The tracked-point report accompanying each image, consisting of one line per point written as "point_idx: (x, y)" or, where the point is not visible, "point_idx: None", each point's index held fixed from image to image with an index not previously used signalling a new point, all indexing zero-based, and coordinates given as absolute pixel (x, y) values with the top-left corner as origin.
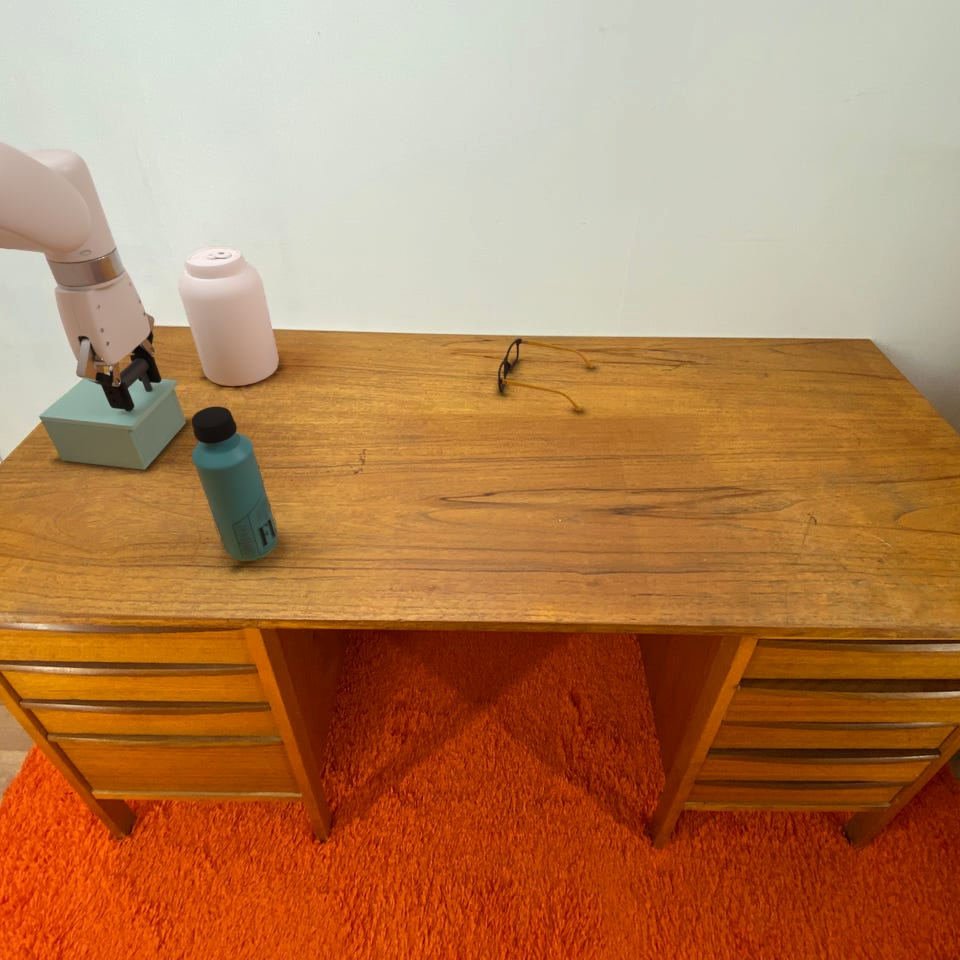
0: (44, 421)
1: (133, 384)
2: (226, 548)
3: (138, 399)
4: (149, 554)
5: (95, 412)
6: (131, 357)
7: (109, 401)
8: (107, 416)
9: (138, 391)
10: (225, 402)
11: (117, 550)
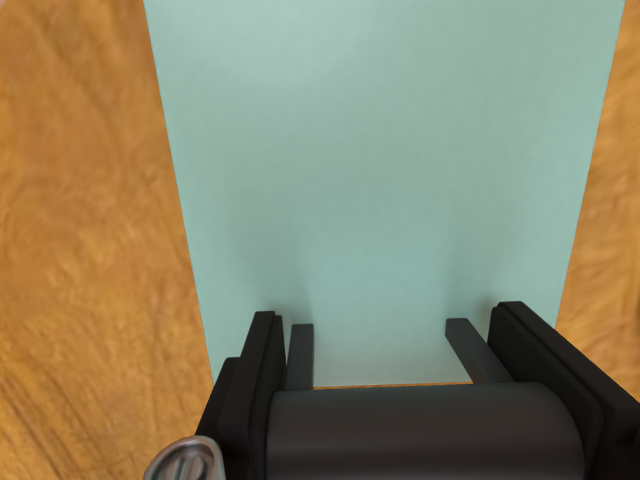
0: None
1: (503, 233)
2: None
3: (383, 323)
4: (46, 412)
5: (251, 210)
6: (606, 407)
7: (221, 369)
8: (239, 278)
9: (445, 288)
10: (562, 315)
11: (25, 360)
